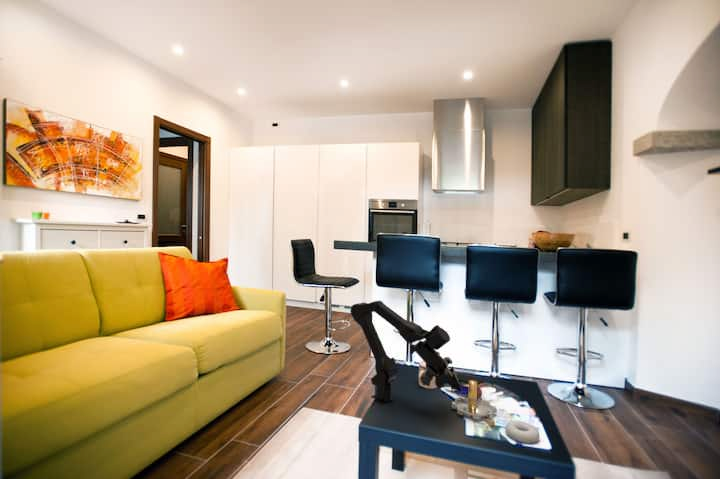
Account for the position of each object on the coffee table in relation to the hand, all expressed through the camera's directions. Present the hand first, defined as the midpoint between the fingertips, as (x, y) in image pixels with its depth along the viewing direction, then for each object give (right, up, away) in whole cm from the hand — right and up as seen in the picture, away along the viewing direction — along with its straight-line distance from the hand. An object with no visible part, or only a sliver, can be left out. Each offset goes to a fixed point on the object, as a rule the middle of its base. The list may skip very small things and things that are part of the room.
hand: (460, 390), depth 128 cm
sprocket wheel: (+6, -9, +4) cm, 11 cm away
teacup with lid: (-7, -10, +28) cm, 31 cm away
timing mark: (+9, -10, -4) cm, 14 cm away
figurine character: (+7, -10, +20) cm, 24 cm away
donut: (+16, -10, -12) cm, 23 cm away
